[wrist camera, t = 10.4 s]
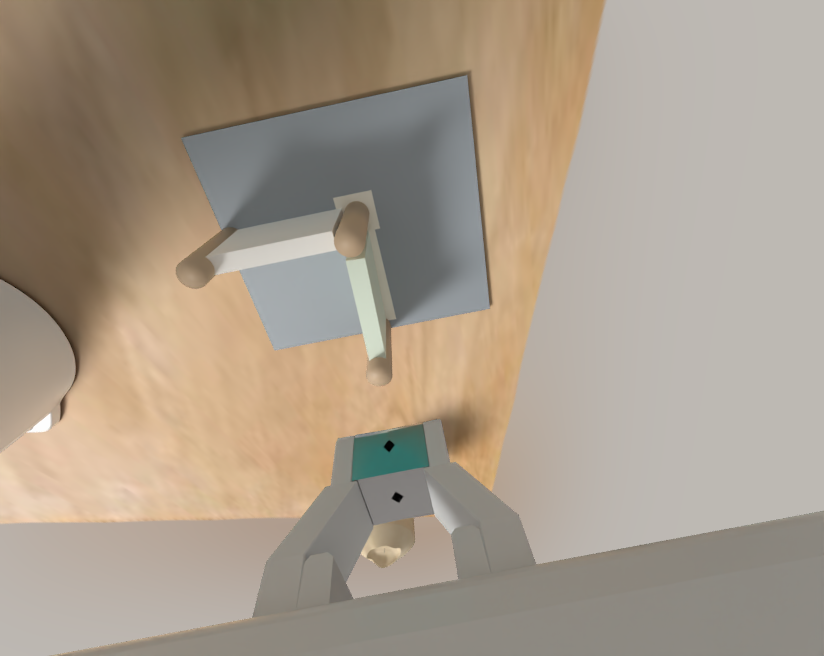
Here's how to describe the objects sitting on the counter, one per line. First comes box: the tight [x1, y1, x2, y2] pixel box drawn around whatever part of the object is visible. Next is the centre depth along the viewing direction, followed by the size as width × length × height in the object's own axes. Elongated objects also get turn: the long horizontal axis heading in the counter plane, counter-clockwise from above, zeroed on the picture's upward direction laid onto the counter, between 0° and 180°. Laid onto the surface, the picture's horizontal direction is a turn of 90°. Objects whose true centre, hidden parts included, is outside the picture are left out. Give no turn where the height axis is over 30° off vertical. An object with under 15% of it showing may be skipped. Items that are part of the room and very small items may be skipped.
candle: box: [361, 517, 415, 568], centre depth 38 cm, size 6×6×10 cm
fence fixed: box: [176, 201, 369, 289], centre depth 26 cm, size 11×2×7 cm, turn 101°
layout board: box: [181, 75, 490, 350], centre depth 29 cm, size 19×17×1 cm
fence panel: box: [346, 231, 392, 386], centre depth 28 cm, size 9×2×7 cm, turn 8°
